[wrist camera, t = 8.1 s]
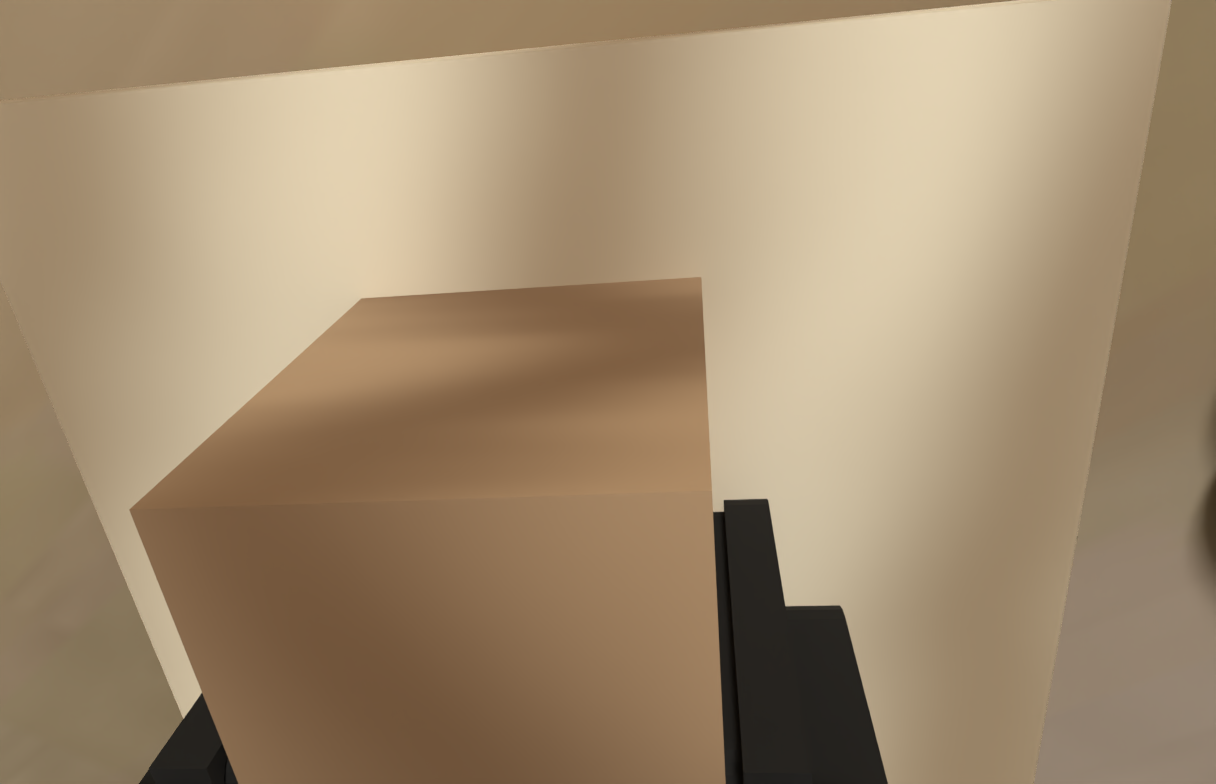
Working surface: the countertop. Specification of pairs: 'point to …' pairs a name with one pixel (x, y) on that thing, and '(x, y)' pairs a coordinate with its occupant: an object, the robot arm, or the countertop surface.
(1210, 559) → the countertop surface
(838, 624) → the robot arm
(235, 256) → the birch lid
